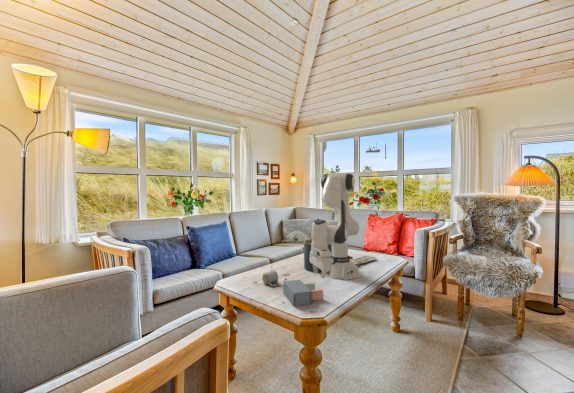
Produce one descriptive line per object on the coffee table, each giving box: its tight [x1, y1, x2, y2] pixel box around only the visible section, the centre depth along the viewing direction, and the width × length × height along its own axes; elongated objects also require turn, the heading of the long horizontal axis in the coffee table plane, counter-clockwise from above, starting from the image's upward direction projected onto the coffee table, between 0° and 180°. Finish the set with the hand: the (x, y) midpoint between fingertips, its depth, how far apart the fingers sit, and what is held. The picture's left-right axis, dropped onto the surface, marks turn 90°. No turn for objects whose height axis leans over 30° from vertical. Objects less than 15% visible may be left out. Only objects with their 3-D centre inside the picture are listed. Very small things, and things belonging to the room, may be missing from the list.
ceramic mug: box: [261, 270, 279, 288], centre depth 174 cm, size 11×8×8 cm
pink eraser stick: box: [311, 288, 324, 302], centre depth 149 cm, size 14×1×5 cm, turn 108°
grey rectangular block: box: [283, 279, 313, 307], centre depth 152 cm, size 11×18×7 cm, turn 18°
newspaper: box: [350, 255, 377, 267], centre depth 222 cm, size 35×12×4 cm, turn 133°
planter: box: [303, 238, 332, 274], centre depth 207 cm, size 22×22×20 cm
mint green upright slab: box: [303, 282, 316, 290], centre depth 159 cm, size 14×1×5 cm, turn 108°
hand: (319, 275), depth 150 cm, fingers open, 8 cm apart
